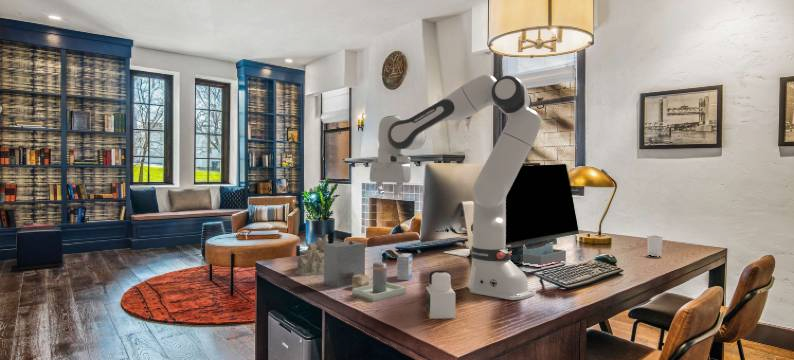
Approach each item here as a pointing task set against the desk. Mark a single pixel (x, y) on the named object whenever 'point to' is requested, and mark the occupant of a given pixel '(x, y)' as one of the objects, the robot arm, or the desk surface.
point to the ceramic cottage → (312, 259)
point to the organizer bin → (545, 257)
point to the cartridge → (379, 277)
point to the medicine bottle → (440, 296)
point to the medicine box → (404, 266)
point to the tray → (368, 293)
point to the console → (343, 263)
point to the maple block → (360, 281)
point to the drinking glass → (654, 245)
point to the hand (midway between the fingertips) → (389, 194)
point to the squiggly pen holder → (539, 250)
